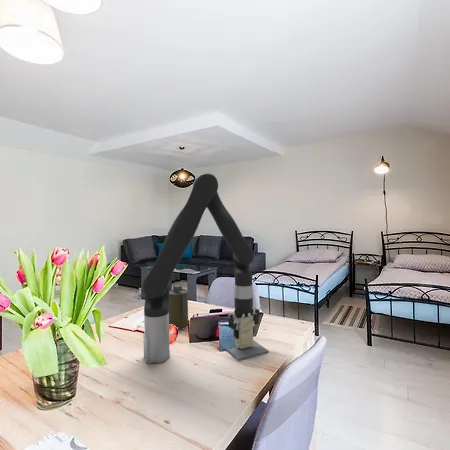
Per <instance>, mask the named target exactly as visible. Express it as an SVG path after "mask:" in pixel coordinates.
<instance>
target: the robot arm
mask: <svg viewBox="0 0 450 450" xmlns="http://www.w3.org/2000/svg"><path fill="white" fill-rule="evenodd" d="M218 190H219V183H218V179H217V177H216V175H214V174H213V173H209V172H204V173H201V174H199V175H197V177H196V178H194V180H193V185H192V189H191V192H190V194H189V197H188V199H187V201H186V203H185V205H184V206H183V207H182V209H181V210H180V212H179V213H178V215H177V216H176V218H175V219H174V221H173V223H172V225H171V226H170V229H169V230H168V232H167V235H166V237H165V238H164V241H163V244H162V246H161V249H160V251H159V254H158V256H157V259H156V261H155V263H154V265H153V266H152V268H151V269H150V271H149V272H148V274H147V275H146V277H145V278H144V280H143V281H142V285H141V286H142V287H141V288H142V292H143V294H144V295H145V296H144V308H143V312H144V313H143V315H144V316H143V317H144V320H143V321H144V332H143V334H142V335H143V358H144V360H145V362H146V364H158V363H163V362H166V361H167V360H168V359H170V355H171V354H170V351H171V350H170V329H169V290H170V281H171V278H172V275H173V273H174V271H175V268H176V267H177V265H178V263H179V262H180V261H181V259H183V256H184V254H185V253H186V251H187V250H188V248H189V246H190V244H191V242H192V240H193V239H194V236H195V234H196V232H197V230H198V227H199V225H200V223H201V220H202V218H203V215H204V213H205V210H206V209H207V210H208V211H209V213H210V215H211V217H212V218H213V220H214V222H215V224H216V225H217V227H218V230H219V232H220V233H221V234H220V235H222V237H223V239H224V241H225V242H226V244H227V245H228V246H229V247H230V249H231V250H232V261H233V262H232V263H233V269H234V295H233V296H234V311H233V312H231V313H230V312H227V320H228V321H227V322H228V328H230V329H231V330H233V337H234V339H235V338H236V339H239V330H238V328H239V325H240V320H239V321H236V318H238V319H239V318H244V317H247V316H248V317H251V315H252V316H253V335H254V334H255V326H256V325H259V320H260V309H258V308H257V307H255V308H254V289H253V288H254V287H253V273H252V270H251V269H250V264H252V263H253V262H254V258H255V252H254V250H253V249H252V247H251V246H250V244H249V243H248V242H247V240H246V238H245V237H244V236H243V234H242V232H241V230H240V228H239V226H238V224H237V222H236V221H235V219H234V218H233V217H232V215H231V214H230V212H229V211H228V210H227V208H226V206H225V205H224V203H223V202H222V199H221V198H220V195H219V193H218ZM235 316H236V318H235Z"/></svg>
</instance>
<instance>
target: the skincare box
mask: <svg viewBox="0 0 450 450" xmlns="http://www.w3.org/2000/svg"><path fill="white" fill-rule="evenodd" d="M235 318H236V316H234V319H235ZM239 320H240V325H239V328H238V330H239V339H236V338H235V337H234V341H235V345H236V346H238V347H239V348H240V349H242V348H246V347H250V346H253V340H254V334H253V314H252V315H251V317H248V316H247V317H244V318H239V319H238V318H236V321H239Z"/></svg>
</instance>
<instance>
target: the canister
mask: <svg viewBox="0 0 450 450" xmlns="http://www.w3.org/2000/svg"><path fill="white" fill-rule="evenodd" d="M188 293H189V290H188V289H185V288H183V286H182V285H179V284H175V285H172V289H169V324H173V325H175V326H176V327H178V329H181V330H184V329H183V328H185V329H187V328H188V327H189V326H188V324H189V298H188V297H189V295H188ZM187 326H188V327H187ZM186 327H187V328H186Z"/></svg>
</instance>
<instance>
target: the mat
mask: <svg viewBox="0 0 450 450" xmlns="http://www.w3.org/2000/svg"><path fill="white" fill-rule="evenodd" d="M226 352H227V353H228V354H229V355H230V356H232V357H233V358H234V359H235V360H236V361H237V362H239V361H243V360H247V359H250V358H255V357H257V356H261V355H265V354H269V353H270V351H269V350H268V349H267V348H266V347H264V346H262V345H261V344H260V343H258V342H257V341H256V340H254V339H253V346H250V347H246V348H242V349H240V348H239V347H238V346H236V347H235V348H232V349H227V351H226Z"/></svg>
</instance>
